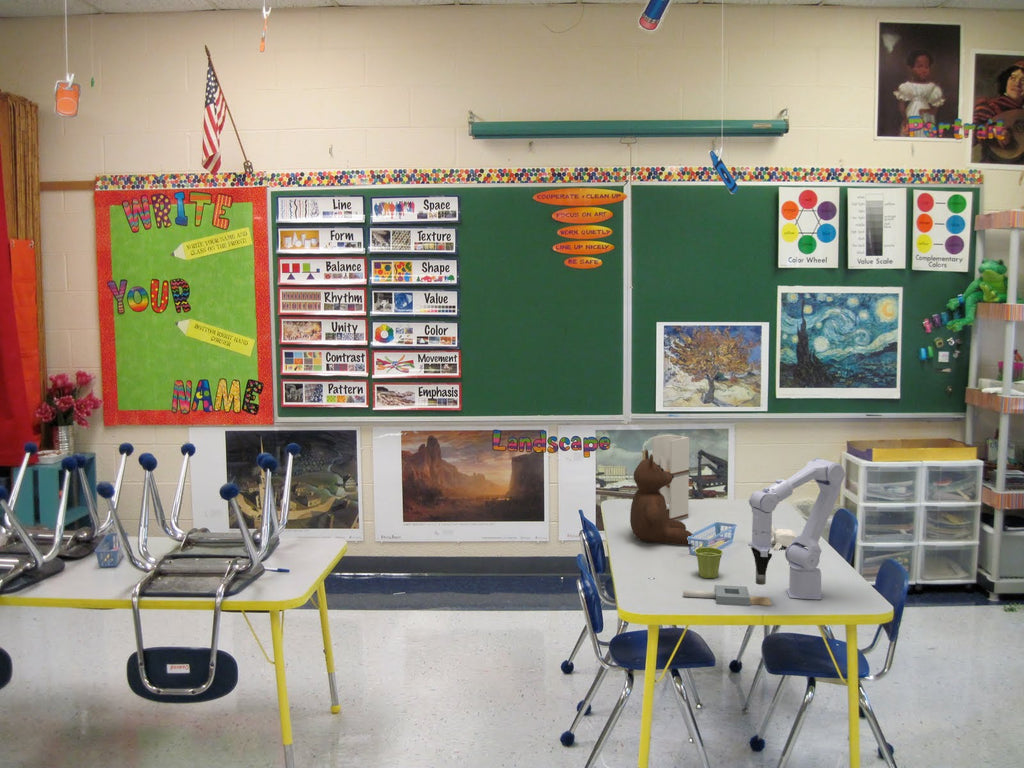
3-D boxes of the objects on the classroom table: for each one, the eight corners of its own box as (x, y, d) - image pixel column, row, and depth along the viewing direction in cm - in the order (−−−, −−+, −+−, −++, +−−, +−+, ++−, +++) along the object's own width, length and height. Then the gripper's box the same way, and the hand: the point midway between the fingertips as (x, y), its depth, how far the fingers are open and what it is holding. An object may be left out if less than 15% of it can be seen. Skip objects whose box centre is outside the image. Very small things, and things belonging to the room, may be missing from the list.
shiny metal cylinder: (763, 581, 263) (764, 556, 262) (766, 584, 260) (767, 559, 259) (754, 581, 263) (754, 556, 262) (757, 584, 260) (757, 559, 259)
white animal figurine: (792, 552, 321) (755, 536, 322) (802, 532, 319) (764, 516, 321) (796, 559, 312) (758, 543, 314) (806, 538, 311) (767, 522, 312)
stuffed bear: (698, 552, 312) (701, 459, 309) (637, 551, 312) (639, 459, 308) (681, 530, 341) (683, 445, 338) (625, 529, 341) (627, 445, 337)
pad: (768, 598, 264) (768, 597, 264) (771, 605, 258) (771, 604, 258) (749, 597, 265) (749, 596, 265) (751, 604, 259) (751, 603, 259)
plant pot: (688, 575, 286) (689, 551, 285) (704, 569, 292) (704, 545, 291) (712, 582, 279) (713, 557, 278) (727, 575, 286) (728, 550, 285)
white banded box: (668, 513, 366) (669, 434, 362) (688, 518, 358) (689, 437, 354) (651, 518, 359) (652, 437, 355) (670, 523, 351) (672, 440, 347)
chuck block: (746, 594, 268) (746, 586, 268) (749, 605, 258) (750, 597, 258) (682, 590, 272) (682, 583, 271) (683, 602, 262) (683, 594, 262)
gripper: (746, 523, 267) (745, 564, 269) (751, 536, 253) (749, 579, 254) (769, 524, 266) (767, 565, 267) (775, 537, 252) (774, 580, 253)
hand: (760, 572), depth 261 cm, fingers closed on shiny metal cylinder, 3 cm apart
